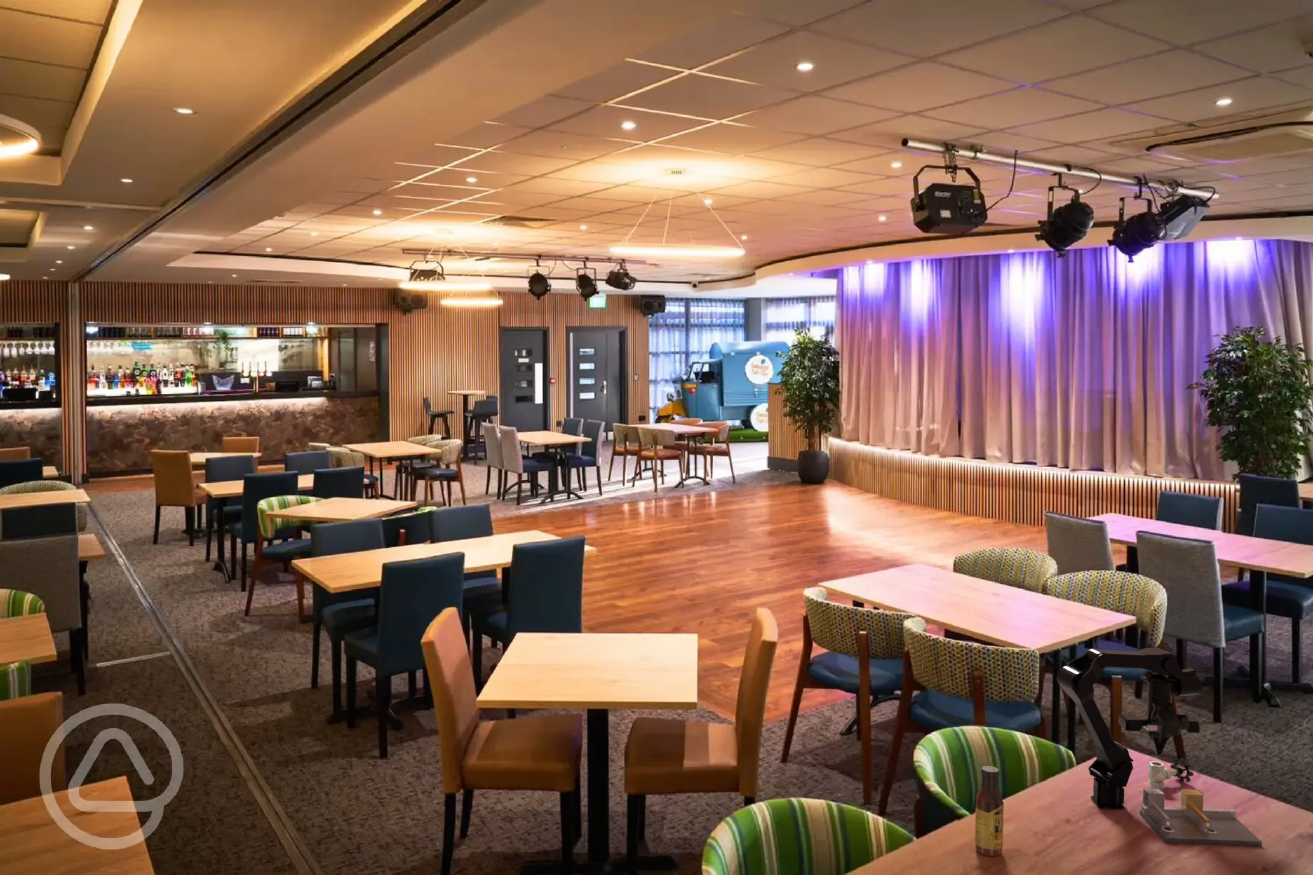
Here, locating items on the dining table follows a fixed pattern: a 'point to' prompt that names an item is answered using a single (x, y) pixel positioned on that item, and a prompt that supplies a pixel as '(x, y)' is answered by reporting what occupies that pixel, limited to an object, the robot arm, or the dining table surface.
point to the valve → (1167, 773)
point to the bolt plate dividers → (1194, 823)
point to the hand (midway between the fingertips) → (1158, 754)
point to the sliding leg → (1194, 803)
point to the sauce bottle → (989, 814)
